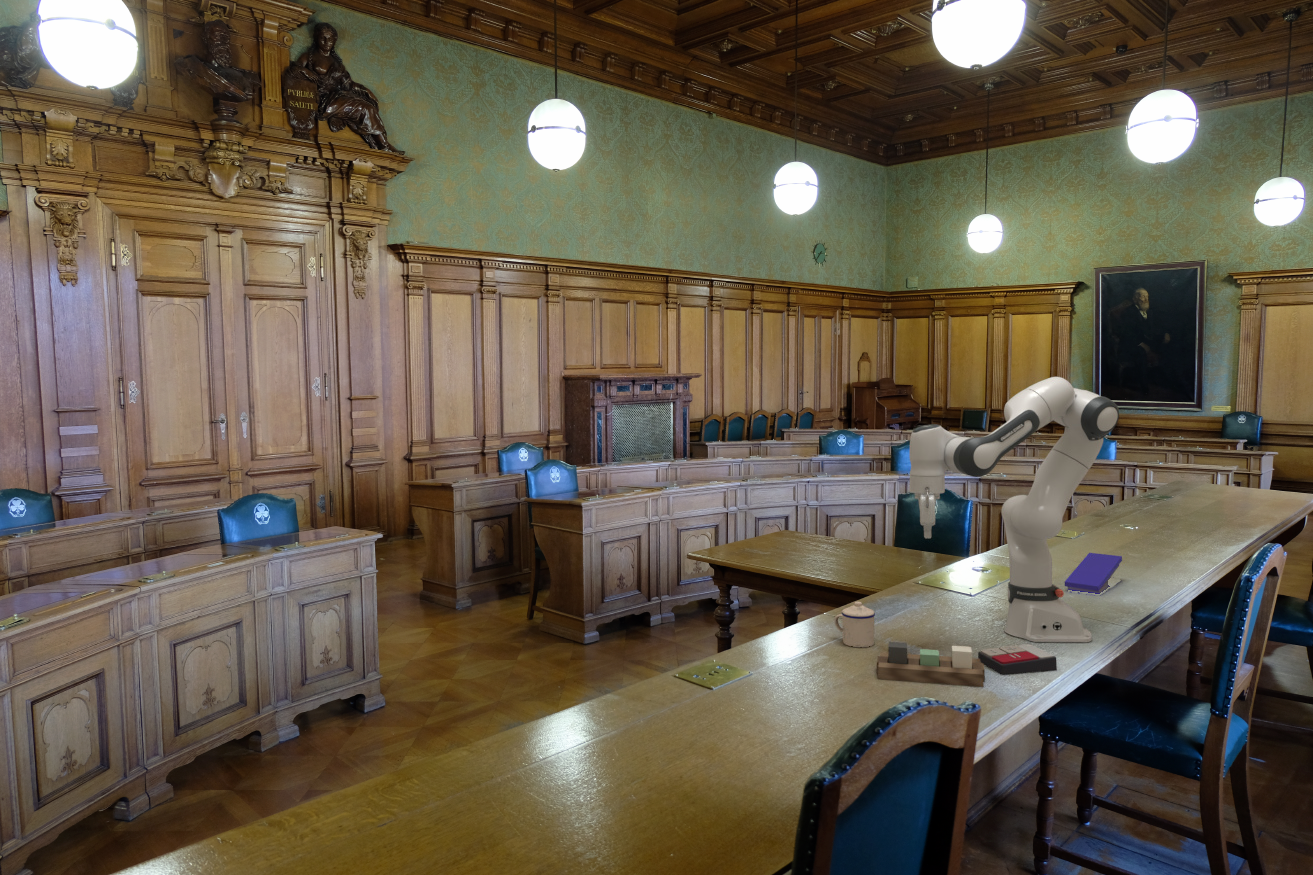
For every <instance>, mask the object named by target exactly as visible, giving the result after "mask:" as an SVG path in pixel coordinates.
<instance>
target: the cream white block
mask: <svg viewBox="0 0 1313 875" xmlns="http://www.w3.org/2000/svg"><path fill="white" fill-rule="evenodd" d="M951 657H952V668H965V669H972V658H973V651H972V647H971V646H967V645H966V646H963V645H951Z"/></svg>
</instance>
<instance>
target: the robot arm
mask: <svg viewBox="0 0 1313 875" xmlns="http://www.w3.org/2000/svg"><path fill="white" fill-rule="evenodd" d="M1003 410H1004V411H1003V415H1004V420H1005V421H1006V422H1005V423H1003V424H1002V425H1000V426H999V427H998V428H996V429H995V430H993V431H992V432H991V433H989V434H988V435H985V436H977V437H969V436H967V437H966V436H960V435H958V434H954V433H952V432H950V431H948V430H946V429H945V428H943V427H942V426H941V425H940V424H925V425H921V426H917V427H916V428H914V429H913V430H912V431H911V434H910V439H909V461H910V471H909V492H910V493H911V494H914V499H916V500H918V507H919V508H918V509H919V522H920V525H921V526H923V538H925V539H931V538H932V527H933V526H935V525H936V502H937V501H936V500H940V499H941V496H940V494H944V493H945V492H946V491H945V490H946V488H945V485H946V484H945V482H946V481H945V476H946V475H945V472H946V471H949V472H951V473H952V472H953V473H959V474H964V475H966V476H970V477H972V478H973V477H974V478H979V477H981V478H982V477H984V476H987V475H988V474H989V473H990V472H992V471H993V470H994V469H995V467H996V466H997V465H998V463H999V461H1001V459H1002V458H1003V457H1004V456H1005V455H1007V454H1008V453H1009V452H1010V451H1012V450H1013V449H1015V448H1016V447H1017V446H1019V445H1020V444H1022V443H1023V442H1025V441H1026V440H1027V439H1028V438H1029V437H1030V436H1032V435H1033V434H1034V433H1036V431H1039V429H1041V428H1043V427H1045V426H1047V425H1048V424H1049V423H1051V422H1056V423H1057V424H1059V425H1061V426H1063V427H1064V432H1063V435H1061V437H1060V438H1059V439H1058V440H1057V441H1056V443H1055V444H1054V445H1053V447H1052V448H1051V450H1050V451H1049V453H1048V454H1046V457H1045V458H1044V460H1043V461H1042V463H1041V464H1040V466H1039V467H1038V469H1037V470H1036V472H1035V476H1034V481H1033V483H1032V486H1031V488H1030V489H1029V490H1030V491H1029V492H1028V494H1027V495H1026V494H1018V495H1014V496H1011V497H1010V498H1008V499H1006V500H1005V501H1004V503H1003V504H1002V505H1001V506H1002V507H1001V517H1002V520H1003V523H1004V524H1003V525H1004V532H1005V537H1006V543H1007V547H1008V548H1007V550H1008V556H1009V558H1008V559H1009V582H1008V583H1007V585H1008V586H1007V600H1008V608H1007V617H1006V622H1005V626H1004V628H1003V631H1004V632H1005V633H1006V634H1008V635H1011V636H1014V637H1015V638H1017V637H1018V638H1020V639H1024V640H1027V641H1030V642H1034V643H1089V642H1091V641H1092V640H1093V636H1092V633H1091V631H1090V630H1089V629H1087V628H1086V627H1084V626H1083V621H1082V618H1081V615H1080V614H1079V613H1078V611H1076V609H1074V608H1073V607H1072V606H1070V605H1069V604H1068V603H1067V602H1065V601H1064V600H1062V599H1061V598H1063V596H1065V593H1064V591H1063V590H1062V589H1061V588H1059V587H1058V586H1057V585H1054V584H1053V557H1052V554H1051V552H1050V549H1049V546H1048V545H1049V544H1048V541H1047V540H1049V539H1053V538H1055V537H1056V536H1058V534H1059V533H1060V532H1061V530H1062V527H1063V517H1064V515H1065V512H1066V510H1067V508H1068V505H1069V503H1070V500H1071V499H1072V496H1073V495H1074V493H1075V491H1076V489H1077V488H1078V487H1079V485H1080V483H1081V482H1082V481H1083V479H1084V478H1085V476H1086V475H1087V473H1088V471H1090V469H1091V467H1092V466H1093V465H1094V463H1095V460H1097V458H1098V457H1097V456H1098V455H1099V453H1100V451H1101V449H1102V447H1103V445H1104V438H1105V437H1106V436H1107V435H1108V434H1110V433H1111V432H1112V431H1113V429H1114V428H1115V427H1116V426H1117V424H1118V422H1119V419H1120V411H1119V410H1120V409H1119V406H1118V405H1117V403H1116V402H1114V401H1113V400H1111V399H1110V398H1108V397H1106V396H1104V395H1103V396H1101V395H1099V394H1097V393H1095V392H1092V391H1089V390H1086V389H1080V388H1077V387H1073V386H1072V384H1071V383H1070V381H1068V380H1067V379H1065V378H1064V377H1061V376H1051V377H1049V378H1045V379H1043V380H1040V381H1038V382H1036V383H1033V384H1032V385H1030V386H1028V387H1026V388H1025V389H1022V390H1021V391H1018V393H1016V394H1015V395H1013V396H1012V397H1011V398H1010V399H1008V401H1007V402H1006V403H1005V405H1004V408H1003Z"/></svg>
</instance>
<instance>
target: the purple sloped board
mask: <svg viewBox="0 0 1313 875" xmlns="http://www.w3.org/2000/svg"><path fill="white" fill-rule="evenodd" d="M1122 561H1123V557H1122V555H1113V554H1103V553H1095V552H1089V553H1087V555H1086V556H1085V557H1084V558H1083V560H1081V562H1080V563H1079V564H1078V565H1077V567H1076V568H1075V569H1074V570H1073V571H1072V572H1071V573H1070V575H1068V577H1067V578H1066V579H1065V581H1064V587H1067V591H1068V590H1072V591H1080V592H1088V593H1095V594H1100V593H1101V592H1103V591H1104V590H1106V589H1107V588H1108V587H1110V586H1109V585H1108V580H1109V579H1110V578H1111V577H1112V576H1113V575H1114V573H1115V572H1116V571H1117V570H1118V569H1119V566H1120V564H1121V562H1122Z"/></svg>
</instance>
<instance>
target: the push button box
mask: <svg viewBox="0 0 1313 875" xmlns="http://www.w3.org/2000/svg"><path fill="white" fill-rule="evenodd" d="M977 657H978V658H977V659H980V661H981V663H983V665H984V667H986V668H988V669H990V670H992V671H993V672H996V673H998V674H999V675H1002V676H1010V675H1021V674H1022V675H1023V674H1029V673H1036V672H1037V673H1038V672H1041V673H1045V672H1054V671H1057V670H1058V667H1057V664H1058V663H1057V657H1056V656H1055V655H1053V654H1051V653H1049V652H1047V651H1045V650H1043V649H1041V648H1039V647H1036V646H1035V645H1032V644H1030V643H1026V644H1020V645H1007V646H999V647H992V648H984V649H980V650H979V651H978V652H977Z"/></svg>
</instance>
